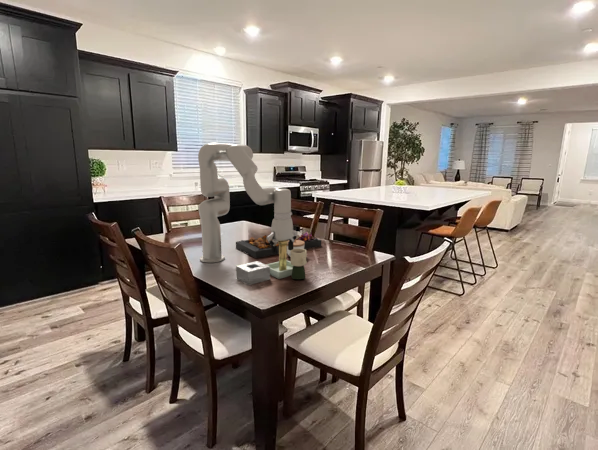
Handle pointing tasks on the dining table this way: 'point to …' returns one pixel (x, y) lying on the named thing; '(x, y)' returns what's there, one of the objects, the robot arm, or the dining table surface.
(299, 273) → the character mug
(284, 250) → the pin
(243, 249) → the food platter
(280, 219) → the robot arm
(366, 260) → the dining table surface
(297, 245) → the lidded jar
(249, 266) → the white square-hole block
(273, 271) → the tray
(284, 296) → the dining table surface
